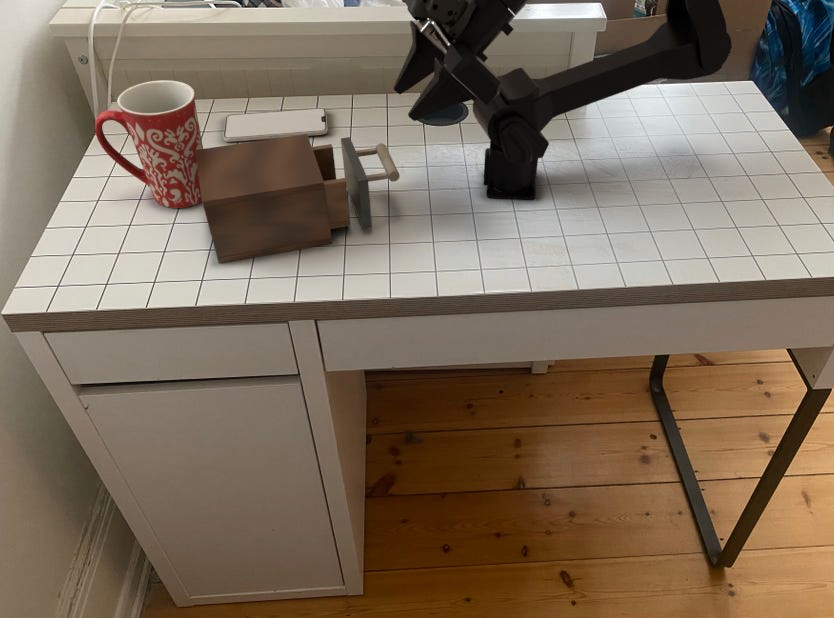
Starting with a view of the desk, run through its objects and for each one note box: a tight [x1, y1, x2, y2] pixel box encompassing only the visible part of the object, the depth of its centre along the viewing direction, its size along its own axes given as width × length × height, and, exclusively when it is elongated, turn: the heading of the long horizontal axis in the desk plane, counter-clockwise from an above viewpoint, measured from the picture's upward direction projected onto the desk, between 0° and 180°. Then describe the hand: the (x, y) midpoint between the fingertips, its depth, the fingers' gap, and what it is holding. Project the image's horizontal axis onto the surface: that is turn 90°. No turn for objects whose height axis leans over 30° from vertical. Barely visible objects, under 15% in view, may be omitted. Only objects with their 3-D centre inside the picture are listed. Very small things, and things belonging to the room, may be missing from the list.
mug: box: [94, 79, 204, 209], centre depth 94 cm, size 13×9×14 cm
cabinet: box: [195, 134, 333, 264], centre depth 91 cm, size 14×12×9 cm
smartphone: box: [222, 107, 329, 143], centre depth 112 cm, size 7×1×15 cm
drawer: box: [312, 136, 401, 230], centre depth 93 cm, size 17×10×7 cm, turn 107°
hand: (403, 104), depth 88 cm, fingers open, 7 cm apart
